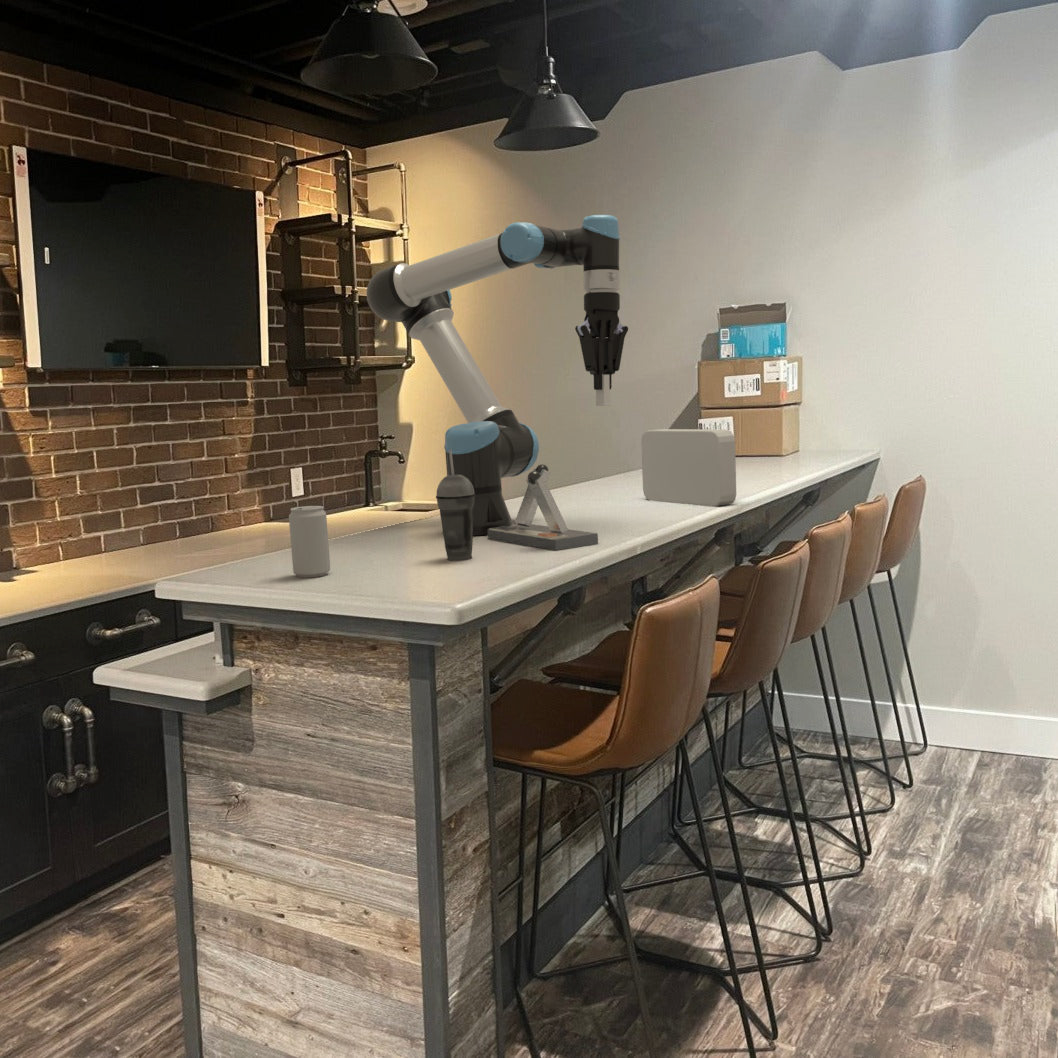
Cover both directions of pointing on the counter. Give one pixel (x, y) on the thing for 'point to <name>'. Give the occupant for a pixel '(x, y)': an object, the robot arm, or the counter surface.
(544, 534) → the switch base
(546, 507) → the outer lever
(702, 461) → the gray rounded block
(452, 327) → the robot arm
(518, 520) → the inner lever
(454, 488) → the beverage cup
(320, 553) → the beverage can
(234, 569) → the counter surface
